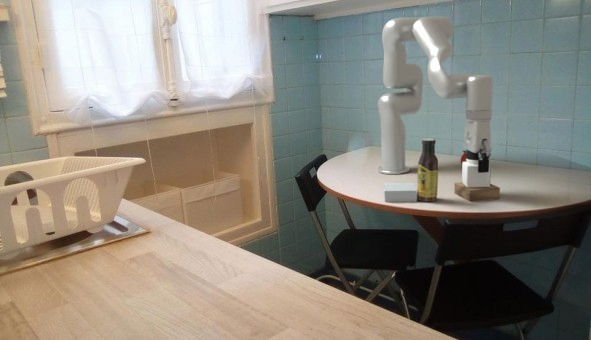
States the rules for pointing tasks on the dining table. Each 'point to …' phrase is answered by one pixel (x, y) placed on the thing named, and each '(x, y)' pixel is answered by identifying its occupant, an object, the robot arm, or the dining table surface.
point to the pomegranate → (463, 157)
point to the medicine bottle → (474, 172)
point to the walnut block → (477, 192)
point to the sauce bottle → (427, 172)
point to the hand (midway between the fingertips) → (476, 168)
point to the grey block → (400, 192)
